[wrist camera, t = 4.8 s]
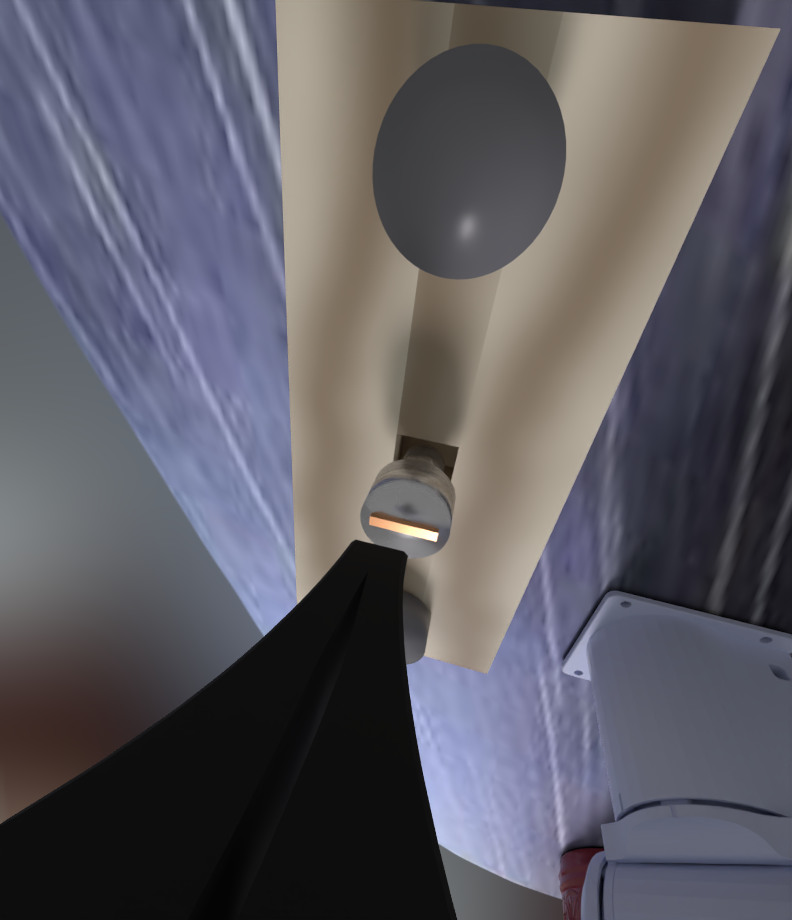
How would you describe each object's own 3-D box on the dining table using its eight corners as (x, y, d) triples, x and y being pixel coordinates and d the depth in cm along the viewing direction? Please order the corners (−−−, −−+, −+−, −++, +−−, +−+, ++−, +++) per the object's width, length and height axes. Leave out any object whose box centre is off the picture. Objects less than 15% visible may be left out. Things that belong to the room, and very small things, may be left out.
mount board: (721, 66, 11) (780, 29, 9) (488, 629, 26) (487, 674, 24) (319, 29, 13) (275, -12, 10) (316, 582, 28) (297, 619, 25)
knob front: (569, 101, 10) (599, 53, 7) (524, 268, 13) (531, 292, 9) (419, 86, 11) (381, 34, 8) (401, 249, 13) (365, 265, 10)
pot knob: (468, 439, 16) (458, 504, 13) (453, 499, 18) (440, 571, 15) (392, 422, 17) (361, 481, 13) (384, 483, 19) (355, 549, 15)
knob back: (442, 567, 23) (431, 629, 20) (430, 610, 25) (419, 672, 22) (375, 550, 24) (353, 607, 20) (369, 593, 26) (349, 652, 23)
